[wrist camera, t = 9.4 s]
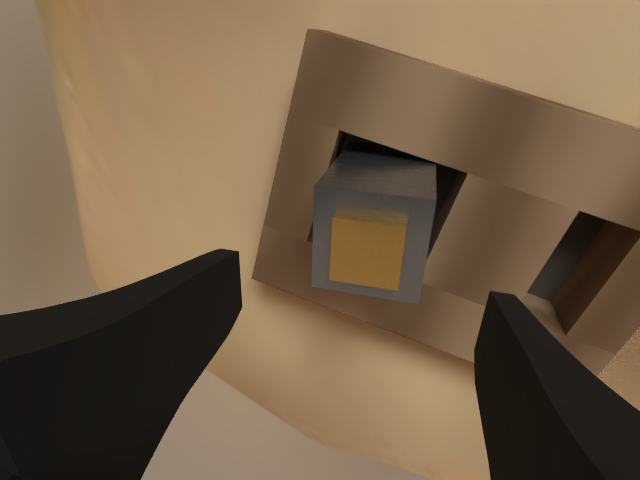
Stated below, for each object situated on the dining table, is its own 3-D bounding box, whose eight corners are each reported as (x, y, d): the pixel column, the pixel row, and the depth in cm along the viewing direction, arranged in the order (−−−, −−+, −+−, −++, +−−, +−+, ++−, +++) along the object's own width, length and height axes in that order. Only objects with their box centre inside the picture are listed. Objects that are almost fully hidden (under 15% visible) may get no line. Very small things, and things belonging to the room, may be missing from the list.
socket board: (717, 153, 17) (770, 174, 14) (558, 359, 22) (574, 401, 20) (325, 30, 18) (307, 28, 16) (271, 252, 24) (251, 278, 21)
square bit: (435, 148, 19) (436, 206, 12) (423, 226, 21) (418, 313, 14) (350, 141, 20) (309, 191, 13) (345, 216, 22) (307, 295, 15)
